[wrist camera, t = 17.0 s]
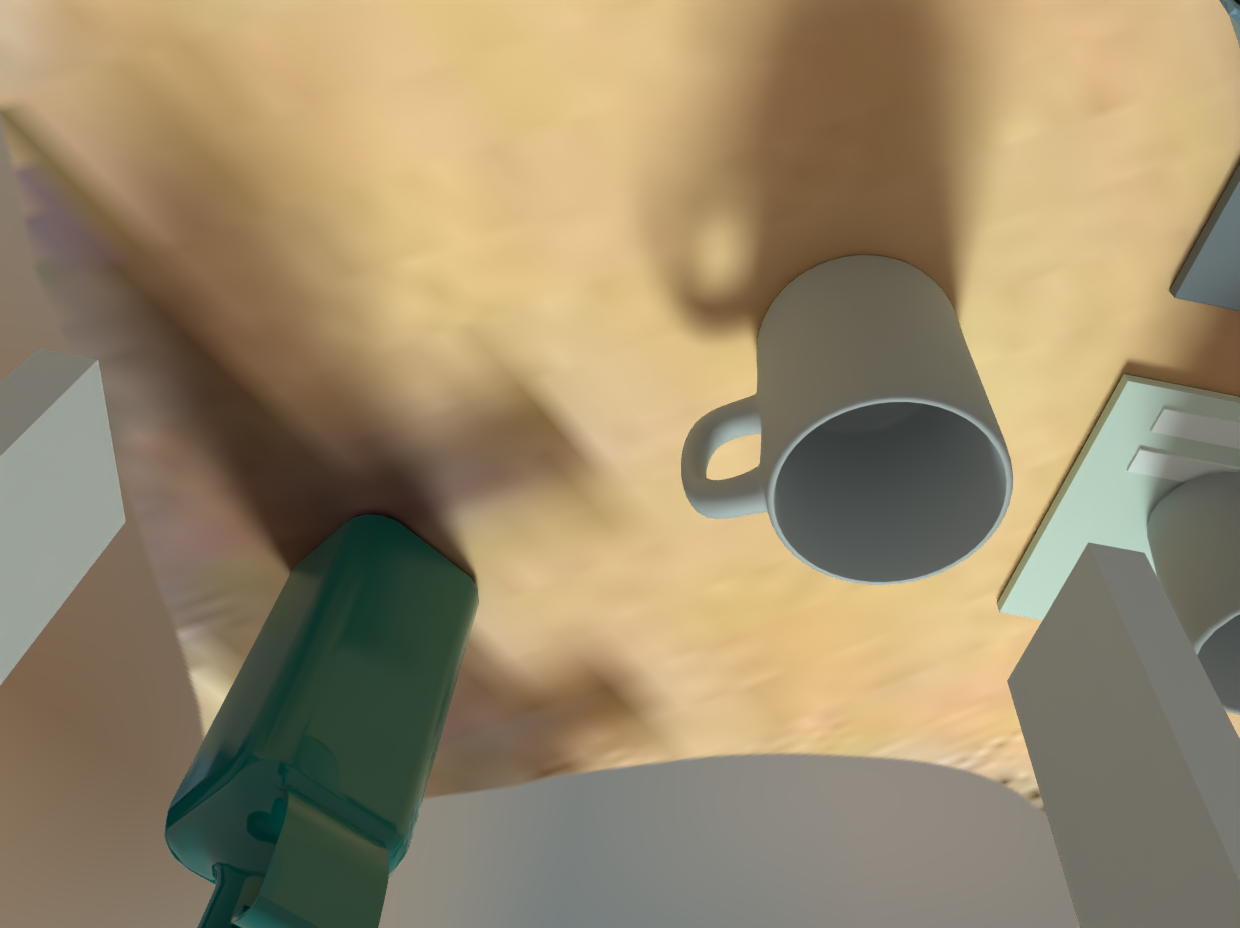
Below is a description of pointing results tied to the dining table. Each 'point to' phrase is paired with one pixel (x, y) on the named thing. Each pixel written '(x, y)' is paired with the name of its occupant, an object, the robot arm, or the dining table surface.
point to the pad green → (1125, 480)
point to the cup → (1204, 572)
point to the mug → (862, 428)
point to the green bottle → (327, 735)
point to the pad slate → (1215, 256)
